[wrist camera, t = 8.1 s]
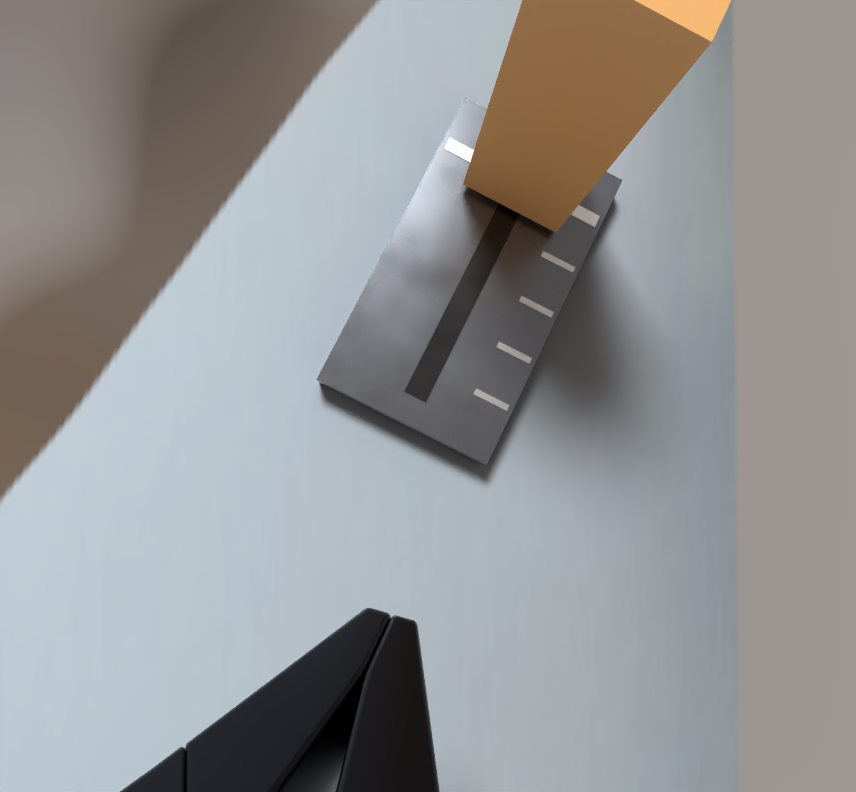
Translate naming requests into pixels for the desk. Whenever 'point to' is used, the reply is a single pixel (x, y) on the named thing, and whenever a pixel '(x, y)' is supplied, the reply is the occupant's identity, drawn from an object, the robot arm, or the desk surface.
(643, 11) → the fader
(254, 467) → the desk surface
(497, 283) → the plate
